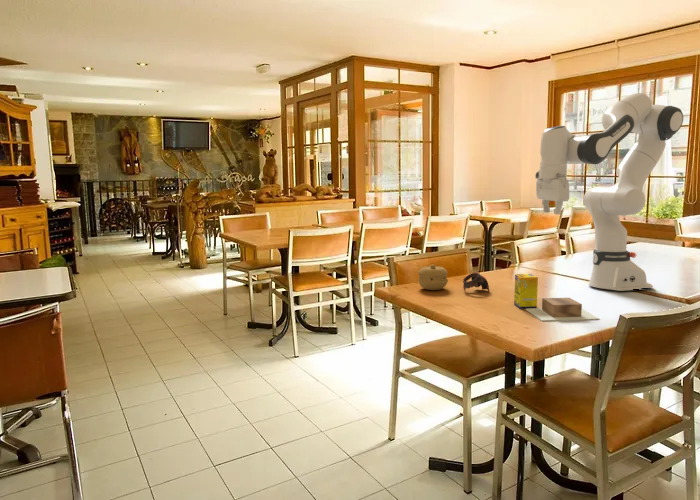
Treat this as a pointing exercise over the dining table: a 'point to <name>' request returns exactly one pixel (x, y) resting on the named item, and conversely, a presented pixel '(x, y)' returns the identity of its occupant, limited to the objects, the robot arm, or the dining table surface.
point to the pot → (433, 277)
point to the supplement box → (525, 291)
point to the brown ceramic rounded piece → (475, 281)
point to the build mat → (546, 317)
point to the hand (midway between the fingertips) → (551, 213)
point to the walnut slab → (561, 307)
